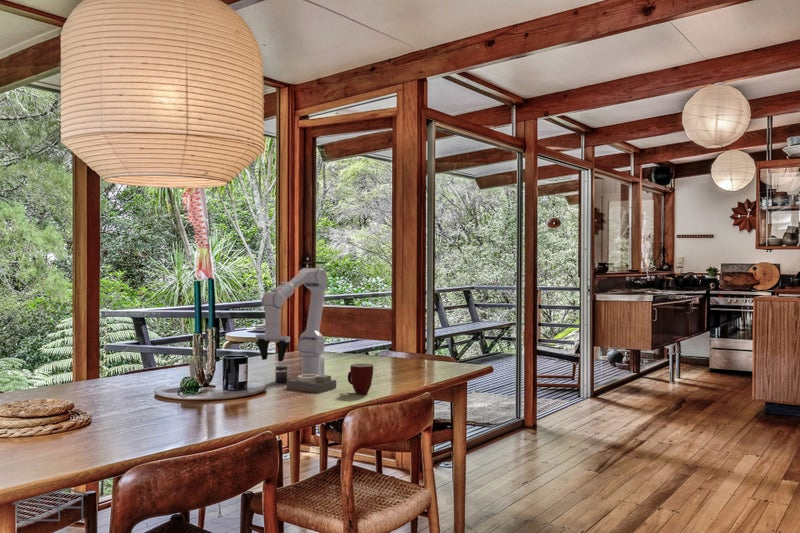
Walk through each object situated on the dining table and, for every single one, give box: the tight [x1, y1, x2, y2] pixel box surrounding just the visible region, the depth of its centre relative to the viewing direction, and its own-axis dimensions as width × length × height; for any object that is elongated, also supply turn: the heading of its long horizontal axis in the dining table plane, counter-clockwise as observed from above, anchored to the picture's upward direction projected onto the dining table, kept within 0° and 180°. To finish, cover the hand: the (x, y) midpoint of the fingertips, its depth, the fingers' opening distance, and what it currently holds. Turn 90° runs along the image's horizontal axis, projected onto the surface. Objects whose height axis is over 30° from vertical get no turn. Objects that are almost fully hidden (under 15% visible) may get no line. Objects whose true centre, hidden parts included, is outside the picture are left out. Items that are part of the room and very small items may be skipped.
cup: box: [188, 357, 207, 378], centre depth 233 cm, size 8×8×10 cm
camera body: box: [286, 373, 337, 394], centre depth 231 cm, size 10×15×5 cm, turn 63°
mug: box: [347, 363, 374, 395], centre depth 224 cm, size 10×8×10 cm
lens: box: [274, 365, 288, 385], centre depth 242 cm, size 5×5×6 cm
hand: (272, 360), depth 234 cm, fingers open, 7 cm apart
